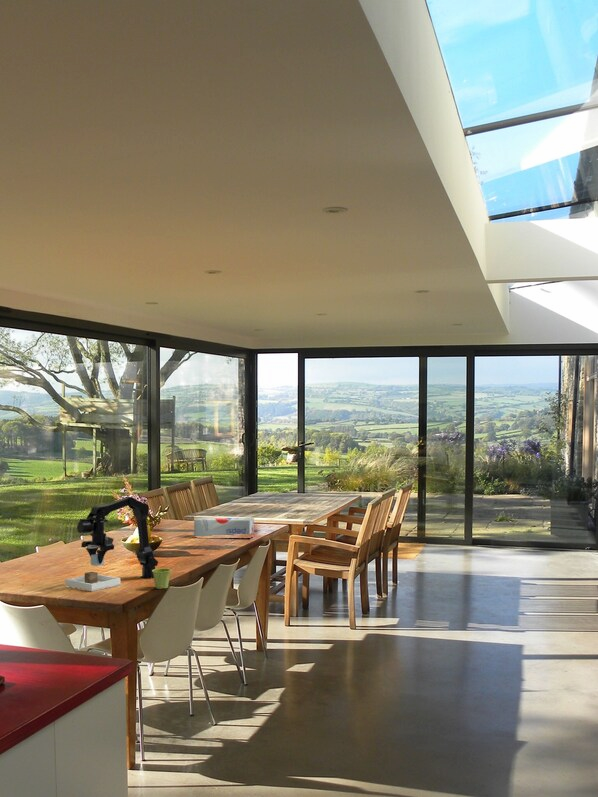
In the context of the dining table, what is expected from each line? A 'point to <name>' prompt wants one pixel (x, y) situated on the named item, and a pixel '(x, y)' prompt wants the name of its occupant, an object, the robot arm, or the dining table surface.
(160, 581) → the plant pot
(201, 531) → the soda pack
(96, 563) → the slate block
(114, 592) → the dining table surface
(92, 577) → the walnut block
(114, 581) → the grey tray
